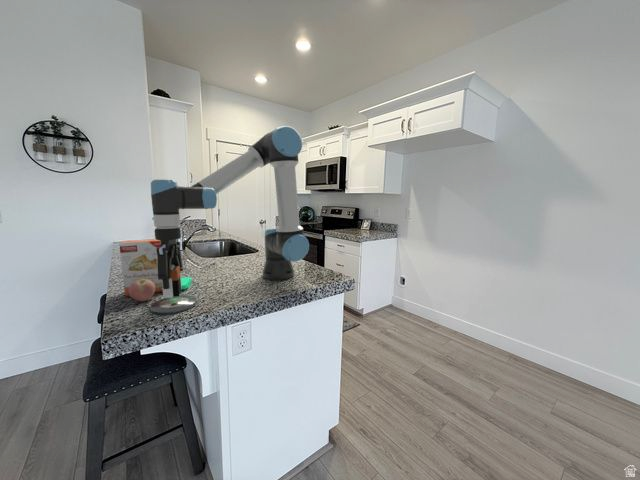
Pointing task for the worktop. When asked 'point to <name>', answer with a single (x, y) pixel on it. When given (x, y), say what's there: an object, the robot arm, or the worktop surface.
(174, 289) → the battery
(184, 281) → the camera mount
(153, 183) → the robot arm
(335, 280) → the worktop surface
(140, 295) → the apple
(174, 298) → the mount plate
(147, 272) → the cracker box
